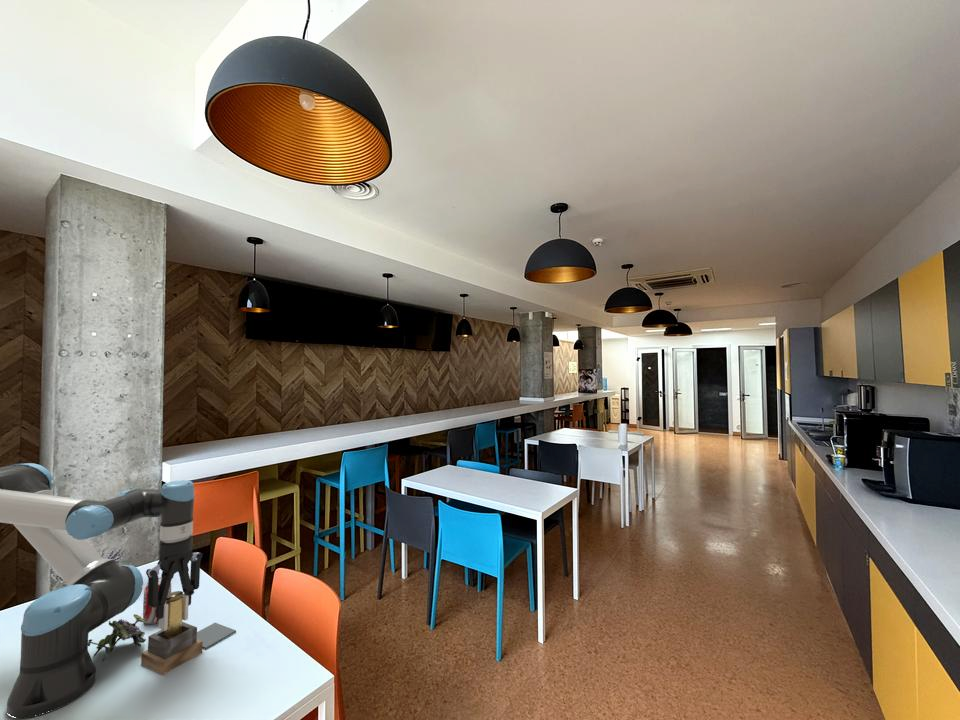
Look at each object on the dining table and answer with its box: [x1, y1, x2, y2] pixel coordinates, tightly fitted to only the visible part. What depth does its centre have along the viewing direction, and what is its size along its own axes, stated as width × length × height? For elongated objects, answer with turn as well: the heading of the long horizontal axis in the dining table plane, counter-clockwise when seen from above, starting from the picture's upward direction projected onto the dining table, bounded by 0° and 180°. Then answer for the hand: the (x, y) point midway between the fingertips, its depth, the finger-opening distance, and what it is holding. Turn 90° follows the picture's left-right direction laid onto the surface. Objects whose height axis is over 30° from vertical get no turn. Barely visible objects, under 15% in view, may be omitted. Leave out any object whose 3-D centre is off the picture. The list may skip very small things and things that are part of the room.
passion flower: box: [88, 614, 147, 662], centre depth 116 cm, size 11×11×12 cm
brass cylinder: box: [164, 590, 184, 640], centre depth 114 cm, size 4×4×14 cm
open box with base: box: [140, 621, 203, 676], centre depth 114 cm, size 10×10×7 cm
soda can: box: [142, 576, 172, 625], centre depth 132 cm, size 7×7×12 cm
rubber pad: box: [197, 622, 237, 651], centre depth 123 cm, size 9×10×1 cm
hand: (173, 623), depth 114 cm, fingers open, 4 cm apart
